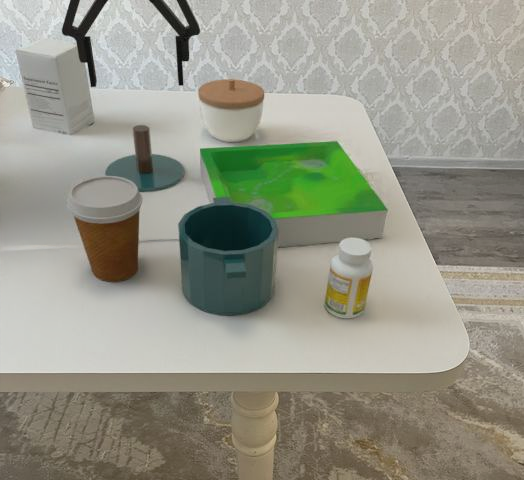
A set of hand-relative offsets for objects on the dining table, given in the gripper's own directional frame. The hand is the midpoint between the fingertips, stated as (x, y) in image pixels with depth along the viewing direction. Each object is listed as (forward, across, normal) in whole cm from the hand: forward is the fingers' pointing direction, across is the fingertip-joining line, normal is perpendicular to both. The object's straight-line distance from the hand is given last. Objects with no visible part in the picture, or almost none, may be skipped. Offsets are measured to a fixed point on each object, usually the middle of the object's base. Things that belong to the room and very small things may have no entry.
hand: (137, 83), depth 94 cm
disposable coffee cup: (+16, -5, -28) cm, 33 cm away
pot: (+16, +11, -34) cm, 39 cm away
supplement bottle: (+16, +26, -40) cm, 50 cm away
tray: (+16, +23, -12) cm, 30 cm away
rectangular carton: (+16, -16, +23) cm, 32 cm away
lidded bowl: (+16, +17, +16) cm, 28 cm away
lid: (+15, 0, 0) cm, 15 cm away
